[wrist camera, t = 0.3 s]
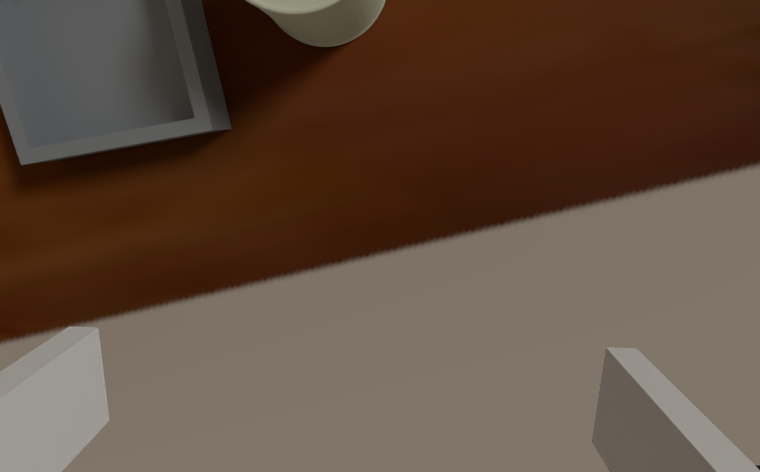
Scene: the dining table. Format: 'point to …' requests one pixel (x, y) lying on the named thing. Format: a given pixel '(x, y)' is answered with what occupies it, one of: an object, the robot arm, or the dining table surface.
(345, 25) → the can
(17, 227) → the dining table surface
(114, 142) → the tray
